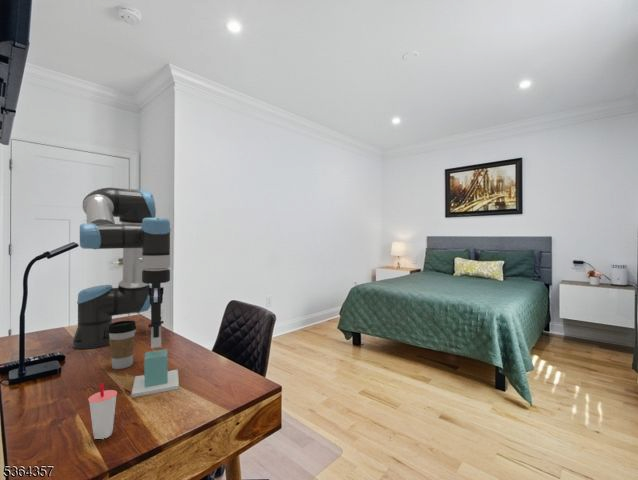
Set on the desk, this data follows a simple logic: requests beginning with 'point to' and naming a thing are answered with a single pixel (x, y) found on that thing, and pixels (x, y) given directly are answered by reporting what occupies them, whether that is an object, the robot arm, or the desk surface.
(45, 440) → the desk surface
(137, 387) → the post stand
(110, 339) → the coffee cup
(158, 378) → the teal rectangular block
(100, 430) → the cup
